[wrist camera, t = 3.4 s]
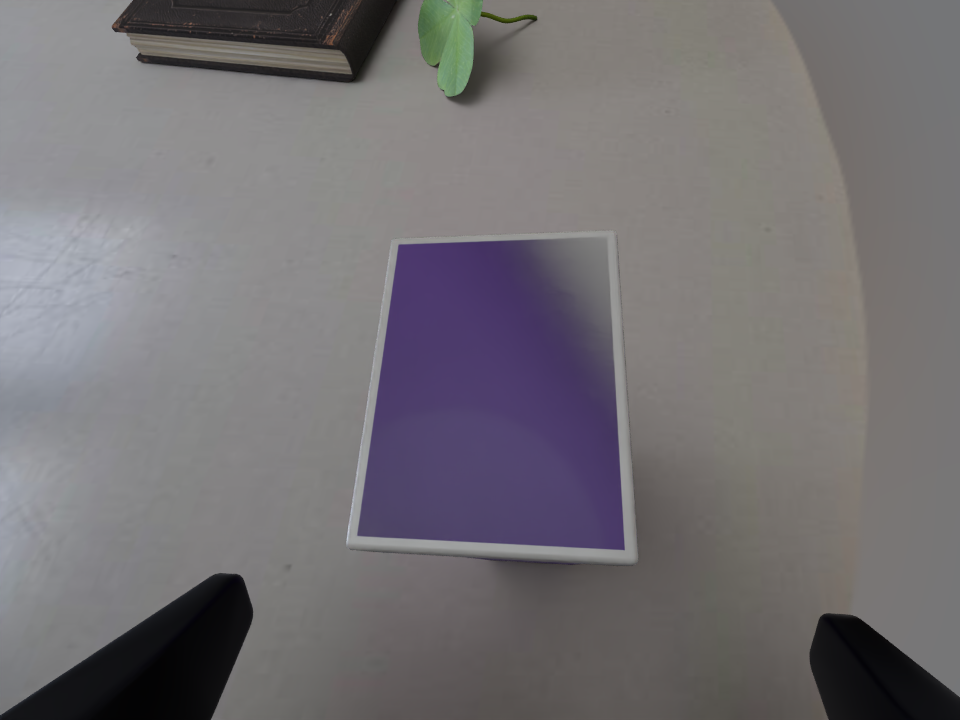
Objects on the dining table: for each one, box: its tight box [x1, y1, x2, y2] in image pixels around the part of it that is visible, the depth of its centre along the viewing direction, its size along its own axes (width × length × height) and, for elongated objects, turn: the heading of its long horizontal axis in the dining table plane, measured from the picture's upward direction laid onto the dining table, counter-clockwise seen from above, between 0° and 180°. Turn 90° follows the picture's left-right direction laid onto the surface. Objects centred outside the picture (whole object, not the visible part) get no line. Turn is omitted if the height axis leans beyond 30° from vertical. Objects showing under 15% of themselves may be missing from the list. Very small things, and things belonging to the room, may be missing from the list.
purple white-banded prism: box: [346, 230, 639, 566], centre depth 12 cm, size 4×3×13 cm
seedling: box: [418, 0, 537, 97], centre depth 26 cm, size 7×8×7 cm
